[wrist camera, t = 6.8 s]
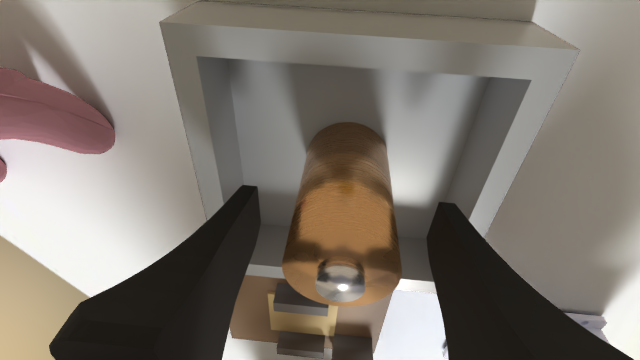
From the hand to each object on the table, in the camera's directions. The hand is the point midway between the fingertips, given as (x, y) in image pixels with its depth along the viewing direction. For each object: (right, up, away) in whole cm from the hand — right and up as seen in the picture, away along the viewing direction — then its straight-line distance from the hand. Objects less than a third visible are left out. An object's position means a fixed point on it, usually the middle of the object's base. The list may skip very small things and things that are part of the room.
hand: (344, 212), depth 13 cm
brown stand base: (-2, -8, +12) cm, 15 cm away
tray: (0, +3, +4) cm, 5 cm away
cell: (0, +2, +3) cm, 4 cm away
